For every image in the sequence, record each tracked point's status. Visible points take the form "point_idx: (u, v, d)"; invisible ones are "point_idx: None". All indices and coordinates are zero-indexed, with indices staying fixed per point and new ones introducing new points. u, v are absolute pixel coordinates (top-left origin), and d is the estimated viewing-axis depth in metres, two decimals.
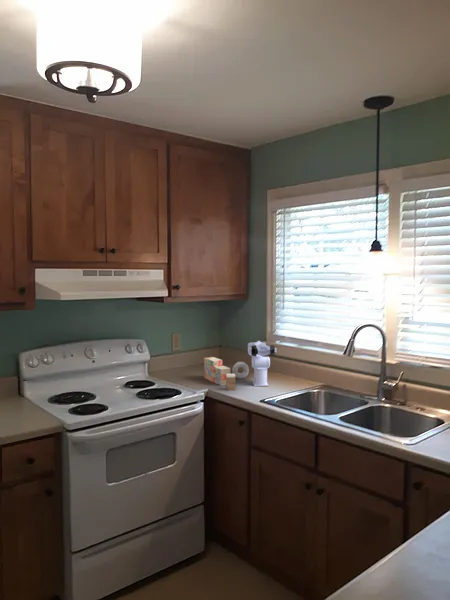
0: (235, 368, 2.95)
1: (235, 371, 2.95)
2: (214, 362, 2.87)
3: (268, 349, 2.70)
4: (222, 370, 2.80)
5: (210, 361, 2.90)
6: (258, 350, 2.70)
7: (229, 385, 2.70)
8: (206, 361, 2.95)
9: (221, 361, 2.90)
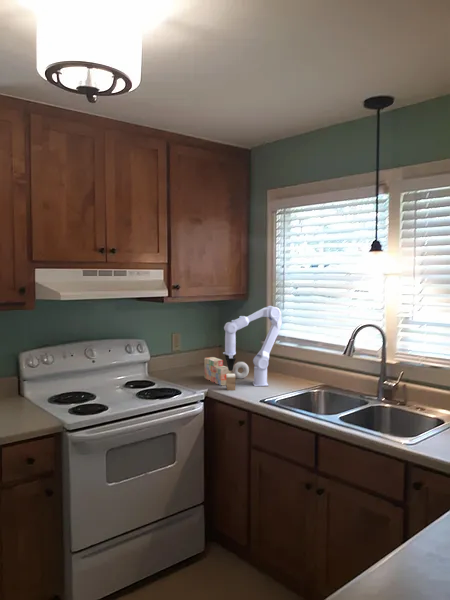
0: (235, 368, 2.95)
1: (235, 371, 2.95)
2: (214, 362, 2.87)
3: None
4: (222, 370, 2.80)
5: (210, 361, 2.90)
6: None
7: (229, 385, 2.70)
8: (206, 361, 2.95)
9: (221, 361, 2.89)
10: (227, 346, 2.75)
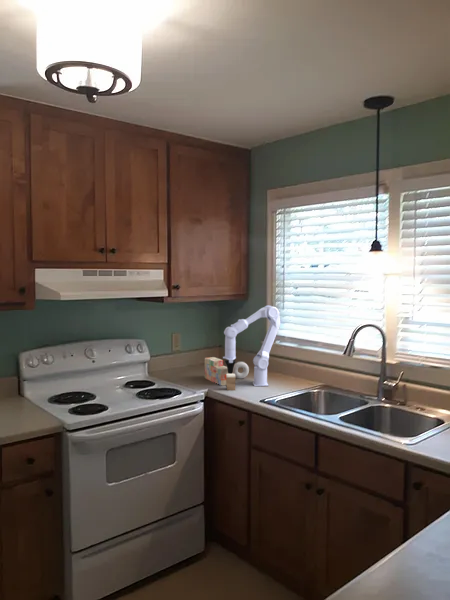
0: (235, 368, 2.95)
1: (235, 371, 2.95)
2: (214, 362, 2.87)
3: None
4: (222, 370, 2.80)
5: (210, 361, 2.90)
6: None
7: (229, 385, 2.70)
8: (206, 361, 2.95)
9: (221, 361, 2.89)
10: (227, 351, 2.75)
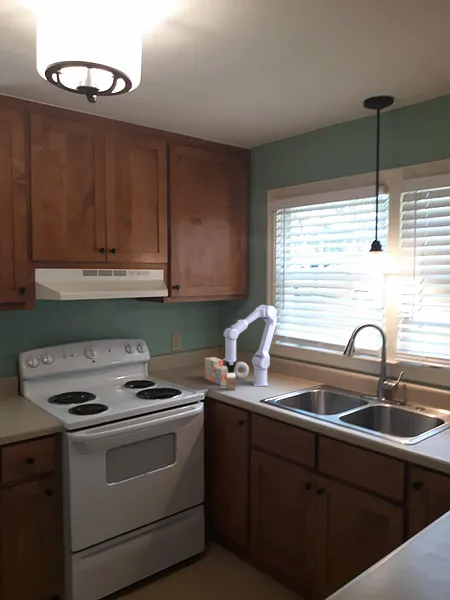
0: (235, 368, 2.95)
1: (235, 371, 2.95)
2: (215, 362, 2.87)
3: None
4: (222, 370, 2.80)
5: (211, 361, 2.90)
6: None
7: (229, 386, 2.69)
8: (207, 361, 2.95)
9: (222, 361, 2.89)
10: (227, 352, 2.70)
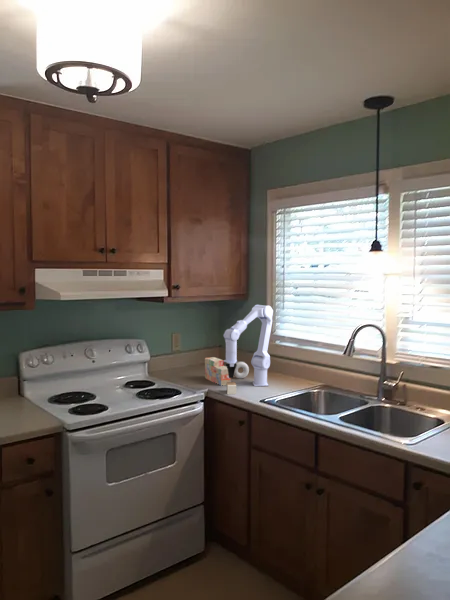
0: (235, 368, 2.95)
1: (235, 371, 2.95)
2: (215, 362, 2.87)
3: None
4: (223, 370, 2.79)
5: (211, 361, 2.90)
6: None
7: None
8: (207, 361, 2.95)
9: (222, 361, 2.89)
10: (228, 354, 2.65)
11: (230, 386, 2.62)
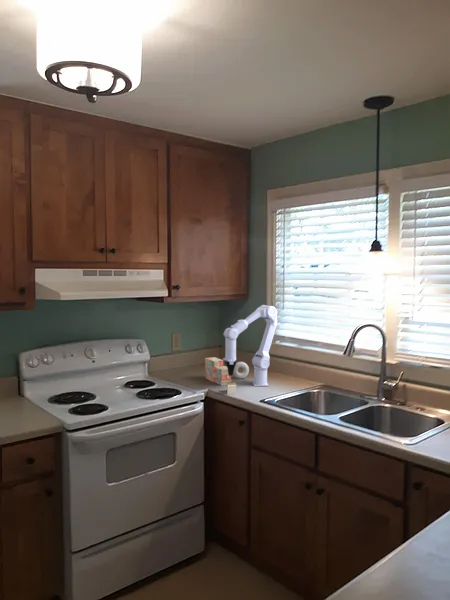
0: (235, 368, 2.95)
1: (235, 371, 2.95)
2: (215, 362, 2.87)
3: (230, 361, 2.71)
4: (223, 370, 2.79)
5: (211, 361, 2.90)
6: None
7: None
8: (207, 361, 2.94)
9: (222, 361, 2.89)
10: (227, 352, 2.71)
11: (230, 386, 2.62)
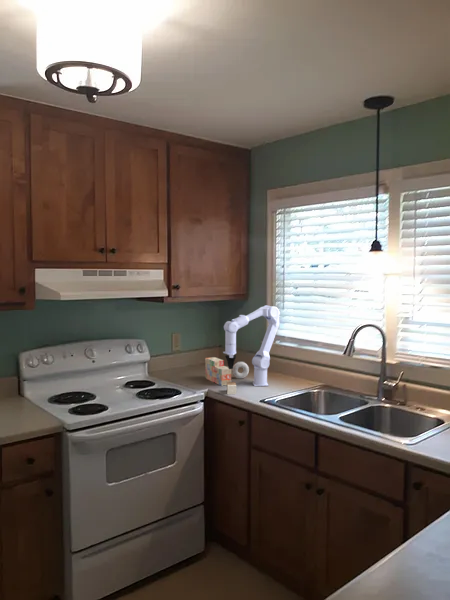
0: (235, 368, 2.95)
1: (235, 371, 2.95)
2: (215, 362, 2.87)
3: None
4: (223, 370, 2.79)
5: (211, 361, 2.90)
6: None
7: None
8: (207, 361, 2.94)
9: (222, 361, 2.89)
10: (227, 345, 2.71)
11: (230, 386, 2.62)
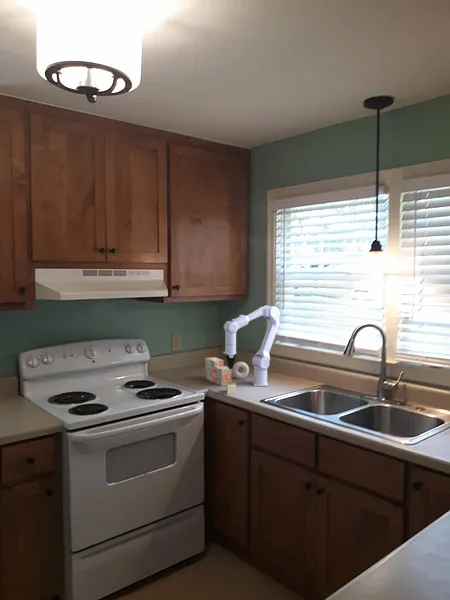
0: (235, 368, 2.95)
1: (235, 371, 2.95)
2: (215, 362, 2.87)
3: None
4: (223, 370, 2.79)
5: (211, 361, 2.90)
6: None
7: None
8: (207, 361, 2.94)
9: (222, 361, 2.89)
10: (227, 345, 2.71)
11: (230, 386, 2.62)
